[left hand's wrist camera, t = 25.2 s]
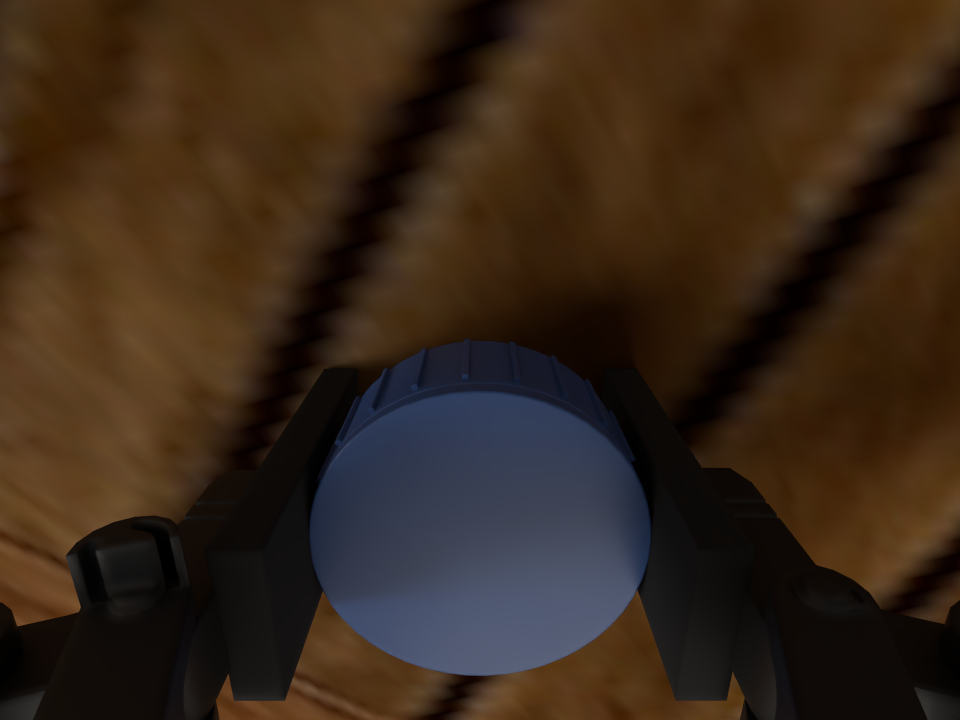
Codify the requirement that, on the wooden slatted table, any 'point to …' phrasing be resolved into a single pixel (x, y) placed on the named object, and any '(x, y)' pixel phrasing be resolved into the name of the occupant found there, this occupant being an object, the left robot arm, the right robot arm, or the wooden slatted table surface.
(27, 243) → the wooden slatted table surface
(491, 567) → the lid
